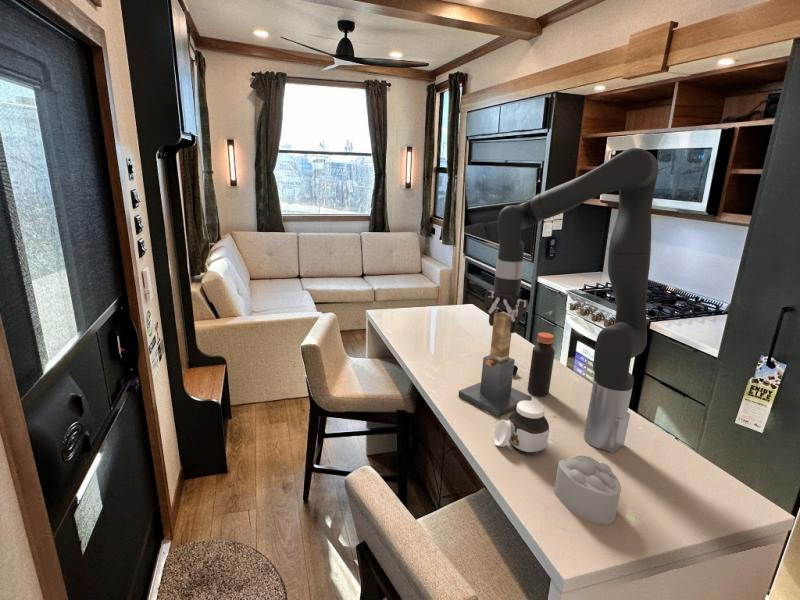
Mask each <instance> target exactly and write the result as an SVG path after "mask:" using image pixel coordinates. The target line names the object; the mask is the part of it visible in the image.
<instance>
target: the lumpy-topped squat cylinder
mask: <svg viewBox="0 0 800 600" xmlns="http://www.w3.org/2000/svg"><path fill="white" fill-rule="evenodd" d="M555 477H556V478H555V484H554V489H553V491H554V494H555V496H556V497H557V499H559V501H560V503H562V505H563V506H565V507H566V508H567V509H568V510H569V511H570V512H571V513H573V514H574V515H576V516H577V517H579V518H581V519H583V520H585V521H587V522H590V523H593V524H597V525H603V526H607V525H612V524H613V523H614V522H615V519H616V516H617V511H618V506H619V500H620V495H621V491H622V490H621V489H622V486H621V483H620V481H619V479H618V477H617V476H616V475H615V473H613V471H612V467H610V466H609V465H608V464H606V463H604V462H600V461H598V460H597V459H595V458H593V457H591V456H588V455H587V456H586V455H577V456H574V457H571V458H563V459H560V460H559V461H558V466H557V470H556V476H555Z"/></svg>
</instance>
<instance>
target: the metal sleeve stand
mask: <svg viewBox="0 0 800 600" xmlns="http://www.w3.org/2000/svg"><path fill="white" fill-rule="evenodd" d="M515 362H516V361H515V358H512V357H510V356H509V359H508V360H507V361H504V362H501V363H500V362H497V361H495V360H493V359H490V354H489V355H486V356H485V355H484V356H483V358H482V369H481V377H480V379H481V380H480V382H478V383H476V384H473V385H470V386H468V387H465V388H462V389H460V390H459V391H458V395H457V396H458V397H459V398H460V399H463V400H464V401H466V402H468V403H470V404H472V405H473V406H475V407H477V408H479V409H480V410H483V411H484V412H486V413H488V414H490V415H491V416H493V417H496V418H497V419H500V418H502V417H504V416H506V415H508V414H511V413H512V412H513V411H515V410H516V409H517V404H518V402H520V401H525V400H528V401H533V400H532V399H533V397H532V396H531V395H529V394H527V393H524V392H522V391H520V390H518V389H516V388H514V387H512V385H513V378H514V375H513V370H514V365H515Z"/></svg>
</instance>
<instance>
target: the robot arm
mask: <svg viewBox="0 0 800 600" xmlns="http://www.w3.org/2000/svg"><path fill="white" fill-rule="evenodd" d="M658 174H659V163H658V160H657V158H656V157H655V155H654V154H653V153H652V152H650V151H648V150H646V149H643V148H639V147H632V148H631V147H630V148H627V149H625V150H623V151H622V152H619V153H618V154H617V155H615V156H614V157H612V158H610V159H609V160H607V161H605V162H604V163H602V164H601V165H599V166H597V167H596V168H594V169H592V170H590V171H588V172H586V173H585V174H583V175H581V176H578V177H575V178H574V179H571V180H568V181H567V182H564V183H562V184H559V185H556V186H554V187H552V188H549V189H547V190H545V191H542V192H540V193H537V194H536V195H535V196H533V197H532V198H531V199H530V200H527V201H525V202H523V203H520V204H515V205H514V204H513V205H507V206H504V207H503V208H502V209H501V211H499V214H498V217H497V223H496V225H497V236H498V237H497V238H498V242H499V243H498V245H499V246H498V254H497V261H496V266H495V273H494V274H495V275H494V282H493V289H494V290H491V289H490V290H486V291H485V292H484V293H485V294H484V303H483V304H484V307H483V309H484V310H485V311H487V312H488V313H489V316H488V325H489V326H491V327H493V323H494V314H495V313H498V310H499V309H503V310H505V311H507V313H508V314H510V316H511V319H512V321H511V326H510V333H512V334H515V333H517V331H519V329H518V328H519V322H521V321H524V320H526V317H527V311H528V306H529V305H528V303H529V301H528V299H521V298H520V296H519V294H520V292H521V286H522V285H521V284H522V276H523V269H524V268H523V267H524V265H523V263H524V262H523V261H524V255H525V254H524V252H525V251H524V250H525V243H524V241H523V240H522V239H521V231H522V230H525V229H527V228H529V227H532V226H533V225H536V224H538V223H540V222H541V221H545V220H547V219H550V218H553V217H556V216H558V215H561V214H563V213H566V212H568V211H570V210H572V209H574V208H575V207H578V206H580V205H581V204H583V203H585V202H587V201H589V200H592V199H594V198H596V197H599V196H601V195H604V194H608V193H613V192H616V191H618V210H617V211H618V212H617V216H616V219H615V223H614V226H613V229H612V233H611V237H610V239H609V245H608V254H607V256H608V257H607V275H608V279H609V281H610V284H611V287H612V290H613V293H614V297H615V301H616V305H615V306H616V308H615V309H616V310H615V320H614V324H611V325H609V326H608V325H607V326H605V327H604V328H602V329H601V330H599V333H598V335H597V338H596V342H595V347H594V353H593V363H592V370H593V373H594V376H593V382H592V388H591V393H590V399H589V403H588V404H589V405H588V409H587V416H586V421H585V422H586V423H585V427H584V433H583V438H584V439H583V440H585V442H586V443H587V444H589V445H590V446H592V447H594V448H597V449H600V450H603V451H608V452H610V453H615V452H616V451H618V450H619V449H620V448H623V446H625V441H626V438H627V437H626V436H627V431H628V426H629V423H630V417H631V413H630V412H629V407H630V402H631V397H632V392H633V387H634V383H635V378H634V375H633V374H632V373H631V372H630V367H631V362H632V359H633V358H635V357H638V356H639V355H641V354H642V352H644V350H645V349H646V346H647V342H648V328H647V327H648V326H647V325H648V324H647V300H648V299H647V298H648V286H649V273H650V265H651V256H652V255H651V253H652V206H653V199H654V196H655V189H656V184H657V179H658V176H659V175H658Z"/></svg>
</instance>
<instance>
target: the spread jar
mask: <svg viewBox="0 0 800 600" xmlns="http://www.w3.org/2000/svg"><path fill="white" fill-rule="evenodd" d="M545 412H546V411H545V406H543V405H542V404H541V403H539V402H538V401H537V402H536V401H534V400H531V401H528V400H525V401H520V402H518V404H517V409H516V410H515V411H513V412H511V413H509V416H508V420H505V419H500V420H499V421H498V422H497V424H496V425H495V428H494V431H493V441H494V444H495V446H497V447H501V448H505V447H506V446H507V445H508V443H509V444H510V445H511V447H512V449H514V450H515V451H517V452H518V453H520V454H523V455H536V454H538V453H540V452H541V451H543V450H545V448H547V445H548V441H549V435H550V425H549V421H548V420H547V417H546V416H545Z"/></svg>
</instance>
